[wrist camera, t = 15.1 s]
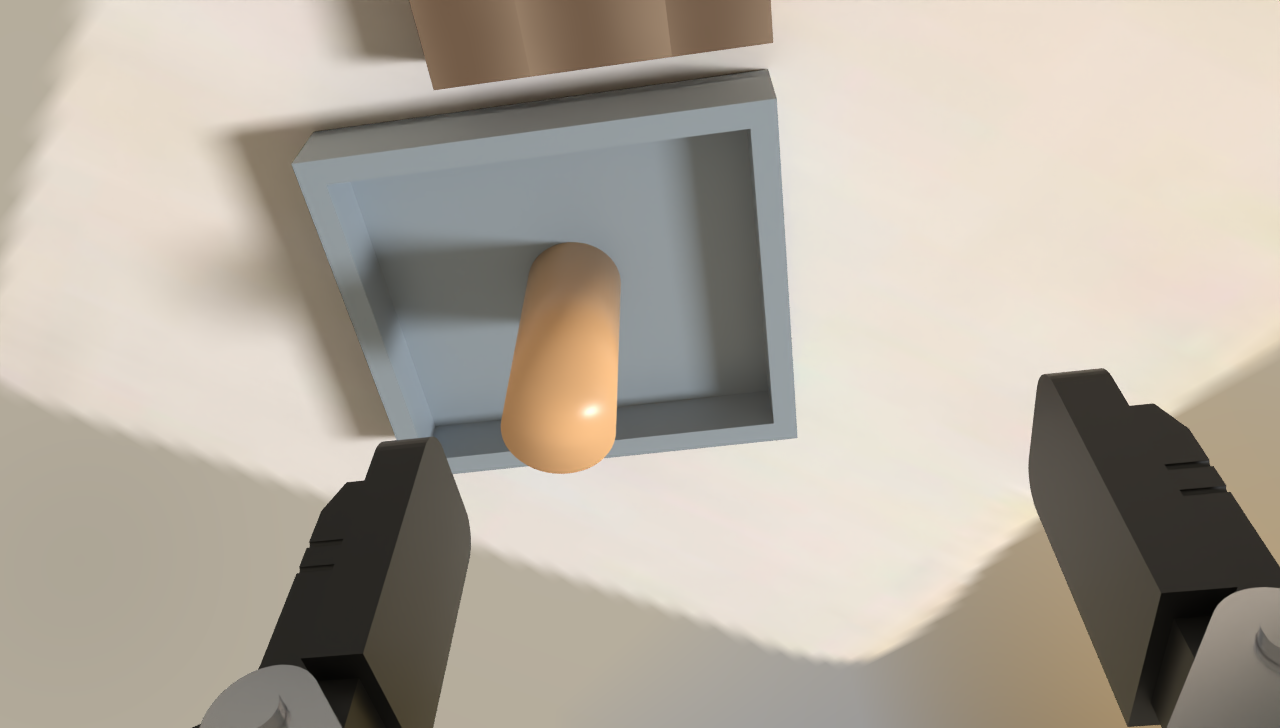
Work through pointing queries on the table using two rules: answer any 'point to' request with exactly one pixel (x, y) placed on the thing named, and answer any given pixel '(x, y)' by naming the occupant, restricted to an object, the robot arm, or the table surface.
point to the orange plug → (565, 362)
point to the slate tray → (558, 213)
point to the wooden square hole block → (575, 34)
